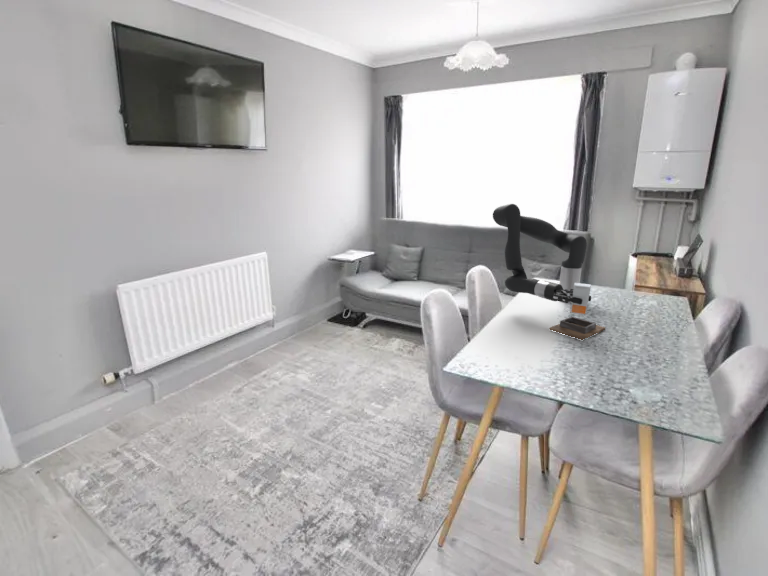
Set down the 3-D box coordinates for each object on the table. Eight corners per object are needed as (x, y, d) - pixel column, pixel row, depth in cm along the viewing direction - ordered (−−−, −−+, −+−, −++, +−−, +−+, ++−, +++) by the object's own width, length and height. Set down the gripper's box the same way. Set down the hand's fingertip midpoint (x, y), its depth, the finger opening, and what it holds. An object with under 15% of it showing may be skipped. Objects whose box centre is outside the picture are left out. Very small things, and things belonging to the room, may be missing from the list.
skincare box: (569, 313, 160) (573, 285, 157) (570, 310, 164) (574, 282, 161) (586, 315, 158) (590, 287, 154) (586, 312, 161) (591, 284, 158)
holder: (572, 320, 174) (573, 313, 173) (605, 330, 163) (606, 322, 162) (549, 330, 163) (549, 322, 162) (582, 341, 153) (583, 332, 152)
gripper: (539, 285, 165) (578, 294, 152) (558, 279, 173) (597, 288, 160) (537, 301, 167) (575, 312, 154) (556, 295, 175) (594, 305, 162)
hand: (586, 300), depth 157 cm, fingers closed on skincare box, 6 cm apart
